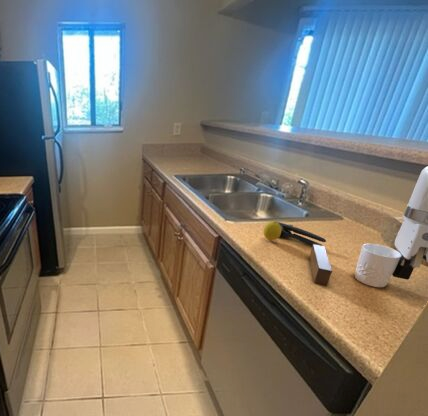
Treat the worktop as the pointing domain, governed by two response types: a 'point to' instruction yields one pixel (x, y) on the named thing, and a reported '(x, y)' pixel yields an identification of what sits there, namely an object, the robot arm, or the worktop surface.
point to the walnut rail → (320, 265)
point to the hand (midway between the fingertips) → (399, 276)
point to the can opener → (287, 233)
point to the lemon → (272, 231)
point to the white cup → (376, 264)
